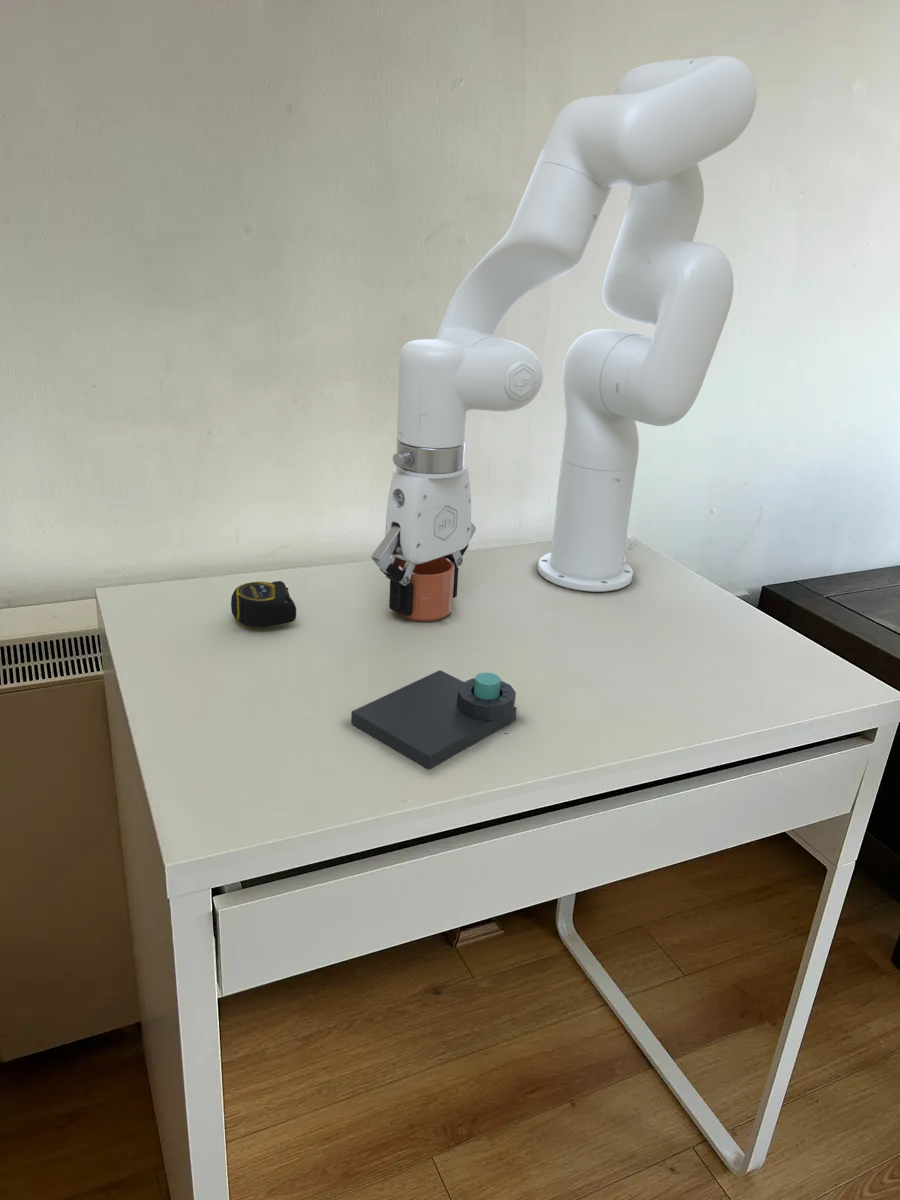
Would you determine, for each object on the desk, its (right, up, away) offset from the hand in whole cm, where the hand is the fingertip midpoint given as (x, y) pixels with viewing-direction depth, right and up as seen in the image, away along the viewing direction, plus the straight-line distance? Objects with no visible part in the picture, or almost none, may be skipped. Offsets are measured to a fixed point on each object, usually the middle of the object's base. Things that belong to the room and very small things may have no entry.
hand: (423, 602), depth 107 cm
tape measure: (-18, -2, -4) cm, 18 cm away
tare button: (+7, -9, -22) cm, 25 cm away
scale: (+2, -11, -22) cm, 25 cm away
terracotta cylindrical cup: (0, -1, 0) cm, 1 cm away
